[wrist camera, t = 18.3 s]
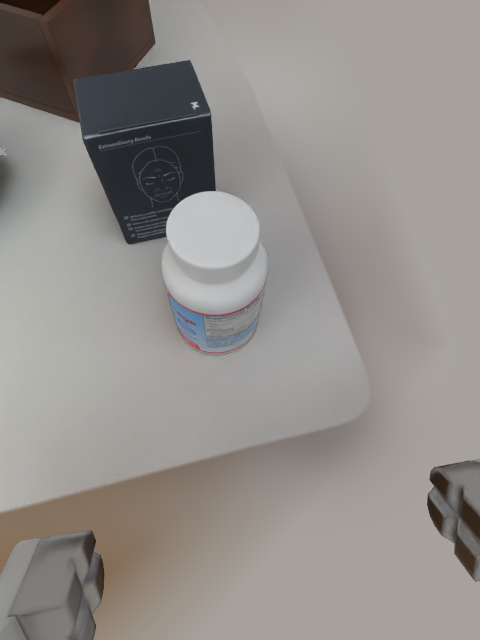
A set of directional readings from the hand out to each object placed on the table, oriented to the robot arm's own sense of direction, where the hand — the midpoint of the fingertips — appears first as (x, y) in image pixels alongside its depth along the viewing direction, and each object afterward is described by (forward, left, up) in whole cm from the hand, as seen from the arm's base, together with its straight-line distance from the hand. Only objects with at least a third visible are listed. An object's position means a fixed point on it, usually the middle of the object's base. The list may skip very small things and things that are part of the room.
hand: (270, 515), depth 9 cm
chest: (-20, -41, -16) cm, 49 cm away
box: (-13, -20, -16) cm, 29 cm away
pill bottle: (-8, -9, -16) cm, 20 cm away
